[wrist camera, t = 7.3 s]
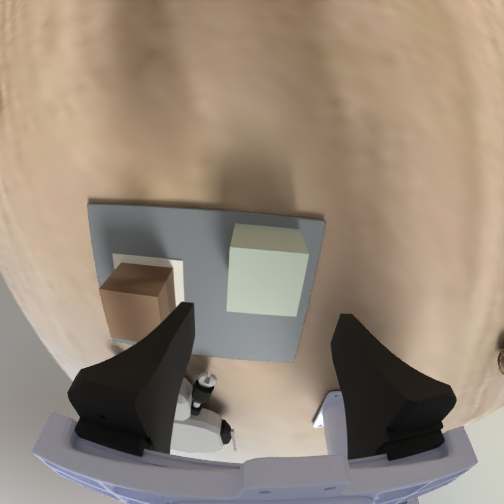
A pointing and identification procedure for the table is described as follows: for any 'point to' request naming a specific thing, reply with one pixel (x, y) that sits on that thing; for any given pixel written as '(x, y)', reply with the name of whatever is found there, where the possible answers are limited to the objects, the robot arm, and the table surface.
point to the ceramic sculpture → (501, 361)
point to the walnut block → (137, 299)
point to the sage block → (266, 270)
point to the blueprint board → (203, 271)
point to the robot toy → (199, 419)
